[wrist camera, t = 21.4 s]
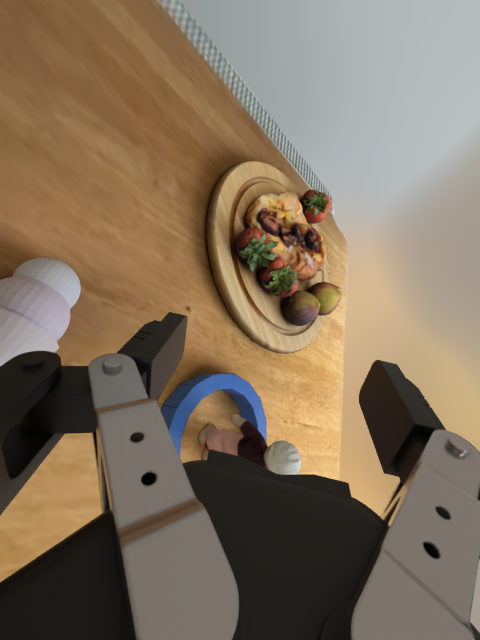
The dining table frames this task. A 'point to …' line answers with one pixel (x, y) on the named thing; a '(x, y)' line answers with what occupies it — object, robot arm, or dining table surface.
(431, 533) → the robot arm
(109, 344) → the dining table surface
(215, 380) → the tape ring
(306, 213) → the wooden plate
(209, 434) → the grandmother figurine
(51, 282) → the ice cream cone
